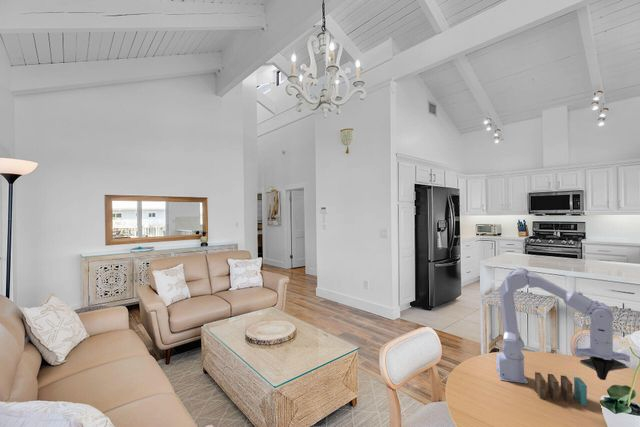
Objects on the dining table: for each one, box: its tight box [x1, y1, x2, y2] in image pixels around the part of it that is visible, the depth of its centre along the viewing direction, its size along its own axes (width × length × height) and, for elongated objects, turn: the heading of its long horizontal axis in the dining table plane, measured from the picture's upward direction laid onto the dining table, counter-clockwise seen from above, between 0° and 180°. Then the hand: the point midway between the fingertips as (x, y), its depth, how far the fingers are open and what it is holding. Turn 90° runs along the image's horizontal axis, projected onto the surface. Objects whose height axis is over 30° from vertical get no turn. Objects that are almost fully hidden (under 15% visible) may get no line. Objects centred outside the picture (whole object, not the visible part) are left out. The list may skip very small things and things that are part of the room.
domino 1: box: [534, 371, 546, 400], centre depth 110 cm, size 2×5×7 cm, turn 161°
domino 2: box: [547, 373, 560, 402], centre depth 109 cm, size 2×5×7 cm, turn 161°
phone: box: [579, 358, 627, 371], centre depth 128 cm, size 8×1×15 cm
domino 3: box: [560, 375, 574, 405], centre depth 108 cm, size 2×5×7 cm, turn 161°
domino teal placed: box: [573, 376, 588, 406], centre depth 106 cm, size 2×5×7 cm, turn 161°
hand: (601, 378), depth 104 cm, fingers closed
